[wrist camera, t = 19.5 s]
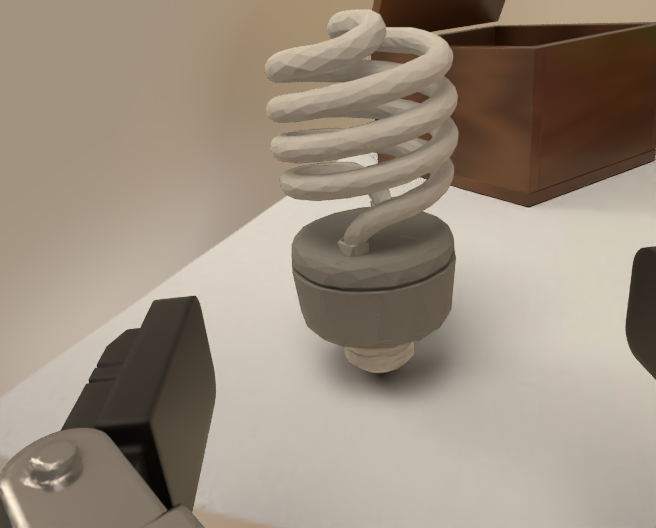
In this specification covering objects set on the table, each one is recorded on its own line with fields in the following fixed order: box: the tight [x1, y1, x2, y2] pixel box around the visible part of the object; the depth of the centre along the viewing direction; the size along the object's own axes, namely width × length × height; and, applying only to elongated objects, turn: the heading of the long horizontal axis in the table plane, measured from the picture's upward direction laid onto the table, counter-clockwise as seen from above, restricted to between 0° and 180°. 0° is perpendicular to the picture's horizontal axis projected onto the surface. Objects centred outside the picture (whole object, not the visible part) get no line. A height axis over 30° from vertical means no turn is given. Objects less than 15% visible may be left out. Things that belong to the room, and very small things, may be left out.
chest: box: [371, 22, 656, 207], centre depth 42 cm, size 15×13×9 cm
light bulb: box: [265, 10, 459, 374], centre depth 19 cm, size 6×6×12 cm
